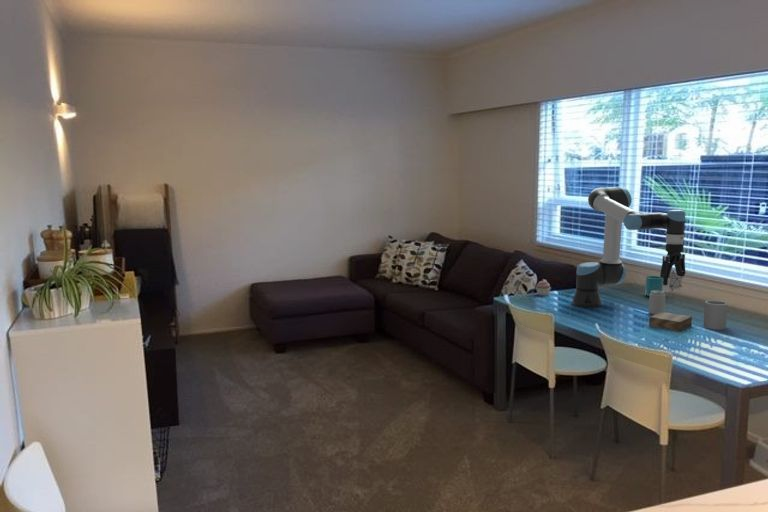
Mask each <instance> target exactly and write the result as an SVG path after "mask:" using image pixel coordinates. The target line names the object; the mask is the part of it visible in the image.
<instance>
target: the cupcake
mask: <svg viewBox="0 0 768 512" xmlns="http://www.w3.org/2000/svg"><path fill="white" fill-rule="evenodd" d="M551 289H552V287H551V285H550V283H549V282H548V281H547V279H544V278H542V280H540V281H538V283H537V284H536V286H535V290H536V292H537V296H539V297H549V295H550V291H551Z"/></svg>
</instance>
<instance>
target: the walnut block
mask: <svg viewBox="0 0 768 512" xmlns="http://www.w3.org/2000/svg"><path fill="white" fill-rule="evenodd" d="M692 318H693V317H692V316H691V315H684V314H678V313H674V312H667V311H665V312H660V313H657V314H655V315H654V314H652V315H651V316H649V319H648V320H649V322H648V326H650V327H654V328H658V329H659V328H660V329H666V330H670V331H676V332H681V331H683V330H685V329H687V328H689V327H691V326H692V321H693V319H692Z"/></svg>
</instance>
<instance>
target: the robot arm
mask: <svg viewBox="0 0 768 512" xmlns="http://www.w3.org/2000/svg"><path fill="white" fill-rule="evenodd" d="M587 201H588V202H587V203H588V205H589V207H590V208H591V209H592V210H595V211H596V212H599V213H601V212H602V213H604V215H605V219H604V220H605V221H604V237H603V252H602V258H601V259H599V262H596V261H590V262H589V261H588V262H581V263H579V264H578V265H577V267H576V273H575V274H576V277H575V279H576V281H575V282H576V283H575V285H576V286H575V288H576V289H575V293H574V296H573V297H572V298H573V299H572V305H573V306H574V307H579V308H585V309H586V308H587V309H588V308H590V309H591V308H592V309H593V308H599V307H601V306H602V300H601V297H600V293H599V287H600V286H601V287H602V286H616V285H620V284H622V282H624V281H625V280H626V279H625V278H626V276H627V270H626V266H625V265H624V264H623V261H622V260H621V258H620V254H621V242H622V241H621V239H622V226H623V225H624V227H625V229H626V230H630V231H639V230H640V231H641V230H656V229H657V230H659V229H661V230H666V232H665V233H666V234H665V252H667V254H666V255H663V256H662V264H661V269H660V277H661V278H663V288H662V289H663V292H664V293H670V288H669V285H670V279H669V275H670V274H671V273H672V269H673V266H674V269H675V274H677V275H678V276H680V277H685V275H686V260H685V259H686V253H683V252H684V241H685V240H684V239H685V228H686V227H685V226H686V212H685V210H684V209H683V210H682V209H669V210H668V211H667V213H665V212H660V211H659V212H657V211H656V212H652V213H651V212H649V213H639V212H638V211H636V210H634V209H633V208H632V209H631V208H630V207H631V204H632V194H631V193H630V191H629V190H628V189H627V188H626V187H624V186H622V187H621V186H613V187H612V186H609V187H597V188H594V189H593V190H592V191H591V192H590V193H589V195H588V199H587ZM682 282H683V278H681V284H682ZM675 290H677V291H681V290H682V287H680V286H679V287H677V288H675Z"/></svg>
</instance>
